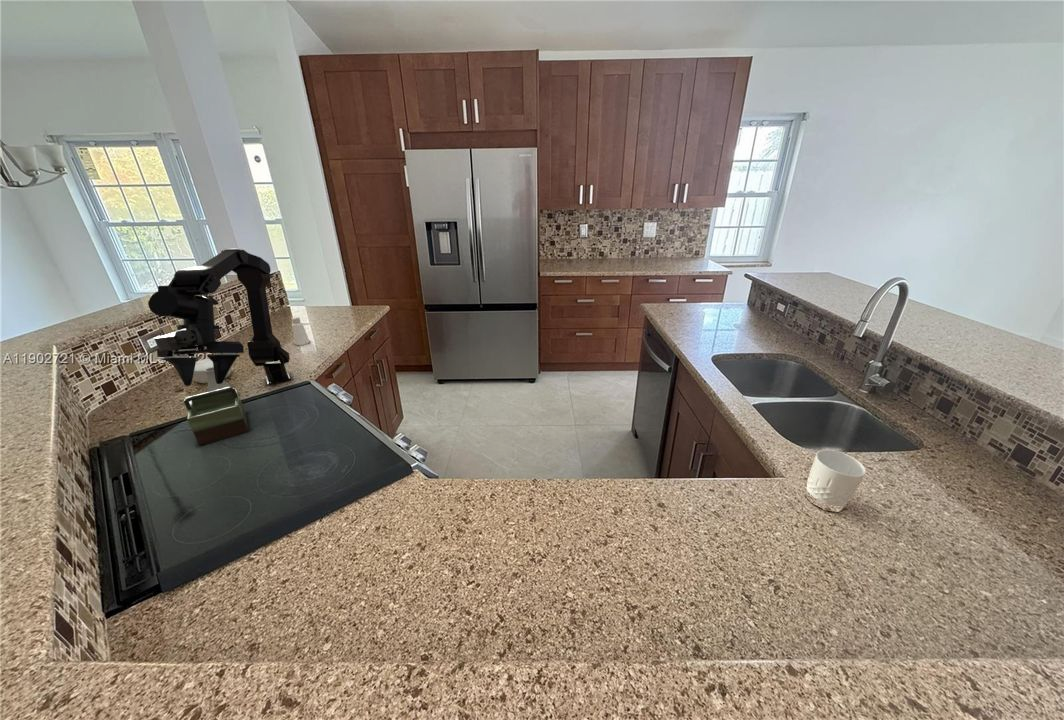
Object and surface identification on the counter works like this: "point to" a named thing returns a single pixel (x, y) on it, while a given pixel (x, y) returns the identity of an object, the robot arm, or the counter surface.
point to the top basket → (213, 408)
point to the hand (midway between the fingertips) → (203, 384)
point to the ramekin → (199, 370)
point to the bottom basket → (222, 431)
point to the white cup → (834, 477)
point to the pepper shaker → (299, 332)
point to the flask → (214, 381)
